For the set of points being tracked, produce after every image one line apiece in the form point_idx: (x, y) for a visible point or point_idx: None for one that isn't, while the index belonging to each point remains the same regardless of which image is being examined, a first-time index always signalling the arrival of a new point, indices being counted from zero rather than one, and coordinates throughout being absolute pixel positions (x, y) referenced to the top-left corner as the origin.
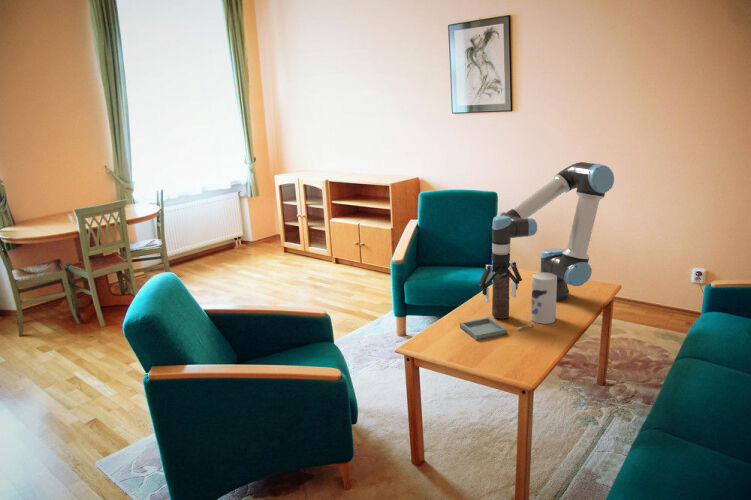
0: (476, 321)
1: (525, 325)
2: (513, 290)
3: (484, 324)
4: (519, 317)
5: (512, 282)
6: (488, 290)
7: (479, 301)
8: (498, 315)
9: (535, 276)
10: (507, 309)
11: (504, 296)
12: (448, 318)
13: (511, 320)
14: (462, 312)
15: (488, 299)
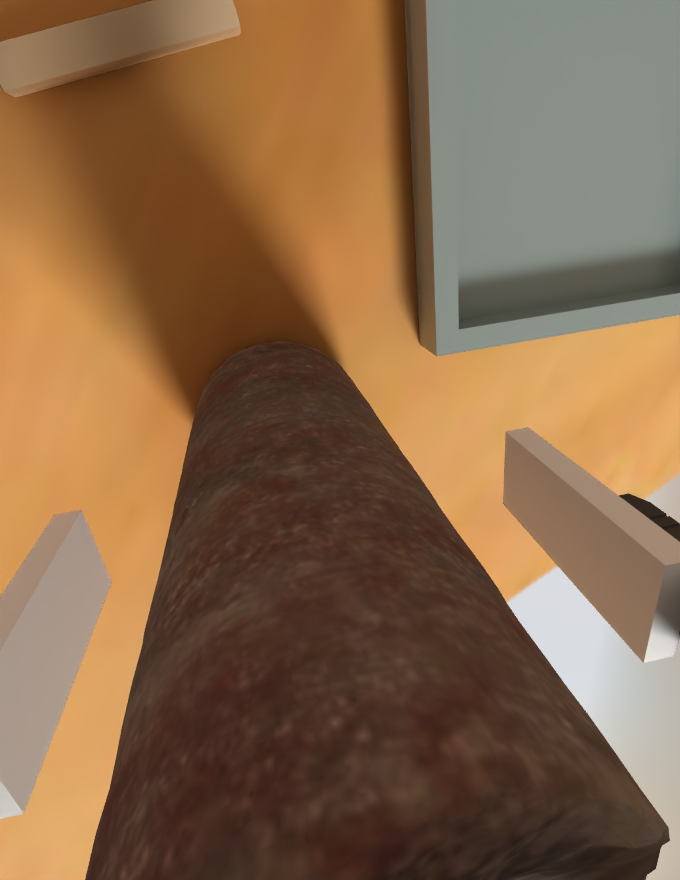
0: (575, 307)
1: (99, 54)
2: (52, 615)
3: (504, 269)
4: (93, 361)
5: (2, 795)
6: (634, 532)
7: None
8: (334, 363)
9: None
10: (233, 376)
11: (301, 432)
12: (649, 486)
13: (202, 312)
14: (511, 562)
15: (530, 449)
